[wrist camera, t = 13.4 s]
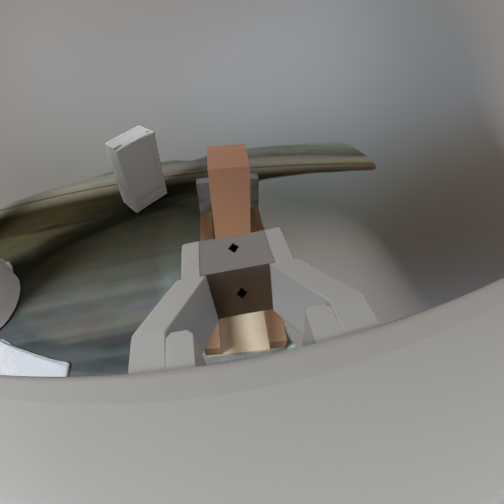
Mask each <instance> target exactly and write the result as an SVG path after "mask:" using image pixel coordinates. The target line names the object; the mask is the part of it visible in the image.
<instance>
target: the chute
mask: <svg viewBox="0 0 504 504" xmlns="http://www.w3.org/2000/svg"><path fill="white" fill-rule="evenodd" d="M258 182H259V178H258V175H257V174H250V229H251V233H252V232H257V231H262V230H263V226H262V222H261V218H260V213H259V209H258ZM196 186H197V193H198V200H199V207H200V241H204V240H210V239H216V238H215V231H214V222H213V214H212V206H211V197H210V188H209V179H208V178H200V179H196ZM218 320H219V321H218V323H217V325H216V327H215V329H214V331H213V333H212V335H211V337H210V339H209V341H208V343H207V345H206V347H205V349H204V351H205V353H206V356H207V357H216V356H228V355H238V354H247V353H256V352H264V351H272V350H279V349H285V347H286V343H287V337H286V332H285V327H284V322H283V318H282V317H281V316H279V315H278V314H277V313H276V312H275V311H274V310H273V309H270V310H264V311H259V312H253V313H247V314H242V315H237V316H232V317H227V318H222V319H218Z"/></svg>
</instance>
